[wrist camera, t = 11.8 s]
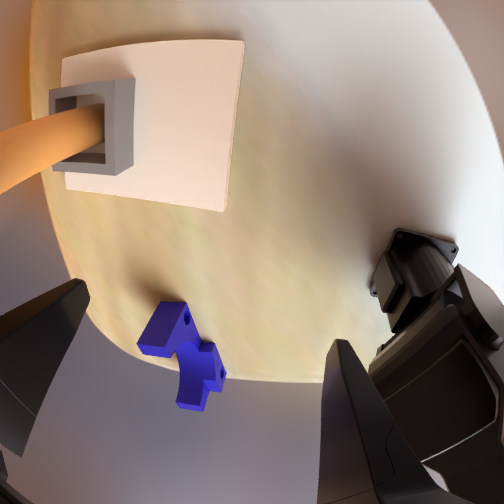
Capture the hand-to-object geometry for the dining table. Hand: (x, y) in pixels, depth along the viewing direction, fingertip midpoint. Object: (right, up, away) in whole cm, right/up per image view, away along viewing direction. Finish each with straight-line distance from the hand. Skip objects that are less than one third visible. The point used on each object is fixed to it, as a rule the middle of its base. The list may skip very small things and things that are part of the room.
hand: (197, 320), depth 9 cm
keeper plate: (-7, +12, +9) cm, 17 cm away
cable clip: (-4, -8, +22) cm, 24 cm away
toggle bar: (-10, +12, +9) cm, 18 cm away
